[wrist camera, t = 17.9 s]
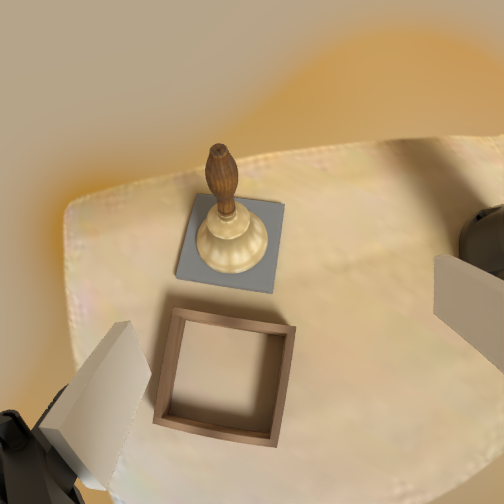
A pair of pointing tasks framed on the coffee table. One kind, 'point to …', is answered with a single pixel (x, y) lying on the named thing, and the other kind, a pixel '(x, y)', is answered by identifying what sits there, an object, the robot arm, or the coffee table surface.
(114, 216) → the coffee table surface
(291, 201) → the coffee table surface
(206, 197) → the grey rubber pad
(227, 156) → the hand bell
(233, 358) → the coffee table surface
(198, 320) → the brown wooden square frame
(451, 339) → the coffee table surface
